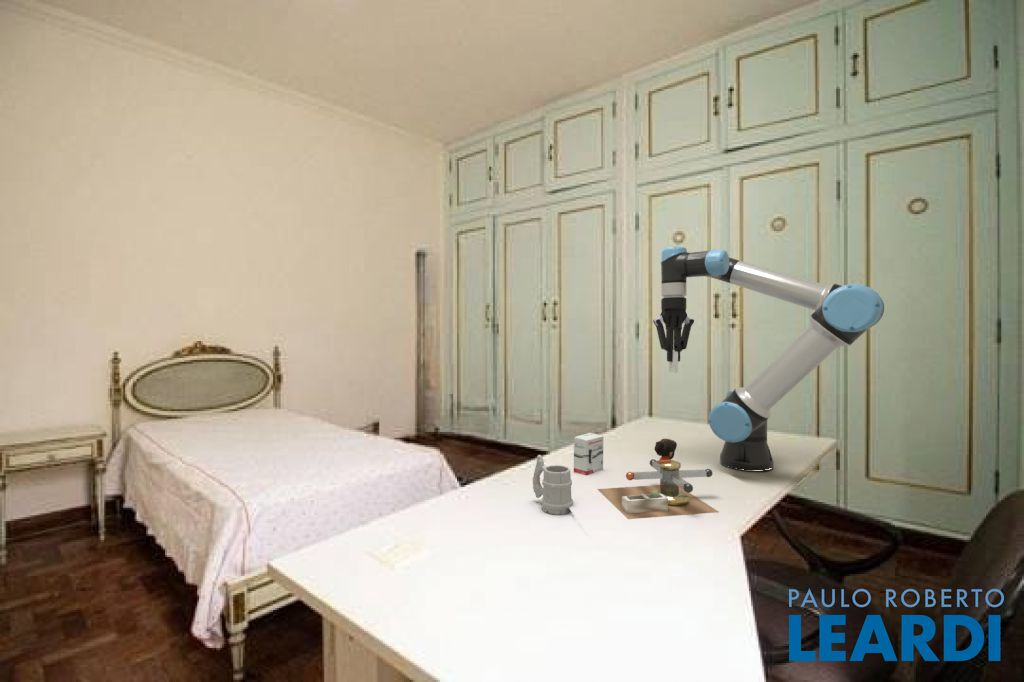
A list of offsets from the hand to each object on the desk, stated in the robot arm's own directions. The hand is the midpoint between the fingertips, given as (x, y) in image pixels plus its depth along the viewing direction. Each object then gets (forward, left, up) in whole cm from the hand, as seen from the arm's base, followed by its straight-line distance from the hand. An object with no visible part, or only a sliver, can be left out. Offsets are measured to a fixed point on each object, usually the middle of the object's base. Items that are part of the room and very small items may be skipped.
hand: (673, 372), depth 153 cm
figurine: (+10, +15, -30) cm, 35 cm away
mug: (+47, +28, -30) cm, 62 cm away
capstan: (+18, +32, -28) cm, 46 cm away
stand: (+22, +32, -29) cm, 49 cm away
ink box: (+30, +6, -30) cm, 43 cm away
